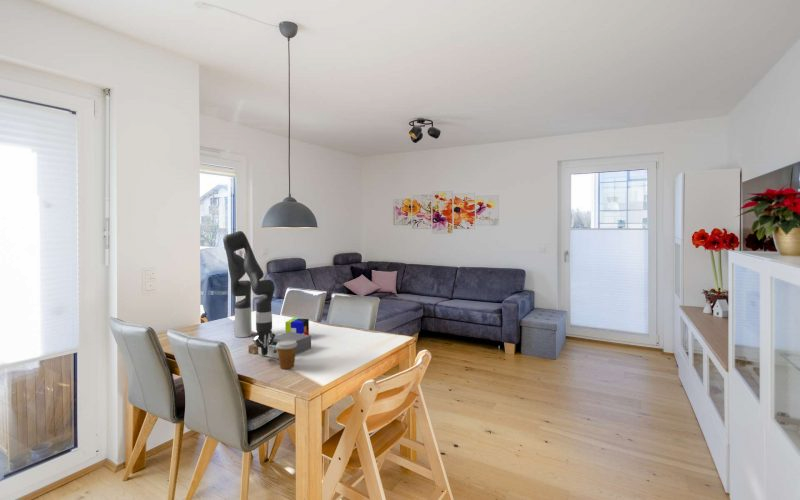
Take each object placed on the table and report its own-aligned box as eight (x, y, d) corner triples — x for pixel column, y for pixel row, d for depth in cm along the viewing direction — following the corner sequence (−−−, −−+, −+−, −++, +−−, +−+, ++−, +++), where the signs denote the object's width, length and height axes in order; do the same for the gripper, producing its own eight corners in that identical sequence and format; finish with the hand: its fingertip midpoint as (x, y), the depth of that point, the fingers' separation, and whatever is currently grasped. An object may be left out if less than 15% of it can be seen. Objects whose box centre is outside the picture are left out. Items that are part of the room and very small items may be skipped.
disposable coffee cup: (279, 363, 192) (278, 339, 191) (299, 363, 192) (298, 338, 192) (274, 370, 182) (274, 345, 181) (295, 370, 183) (295, 344, 182)
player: (270, 350, 211) (269, 337, 210) (289, 343, 223) (289, 331, 222) (292, 355, 203) (292, 342, 202) (311, 348, 215) (311, 335, 215)
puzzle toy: (301, 339, 231) (301, 322, 231) (285, 338, 233) (285, 322, 233) (308, 335, 241) (308, 318, 240) (293, 334, 243) (293, 318, 242)
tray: (257, 354, 203) (257, 344, 202) (278, 346, 215) (278, 337, 215) (279, 359, 196) (278, 348, 195) (299, 351, 208) (299, 341, 208)
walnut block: (248, 353, 207) (248, 345, 207) (254, 350, 210) (254, 343, 210) (253, 354, 205) (253, 346, 205) (260, 352, 209) (259, 344, 208)
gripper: (258, 324, 189) (259, 360, 190) (279, 318, 200) (280, 352, 201) (247, 322, 192) (248, 357, 193) (268, 316, 204) (269, 349, 205)
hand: (264, 354), depth 197 cm, fingers closed
